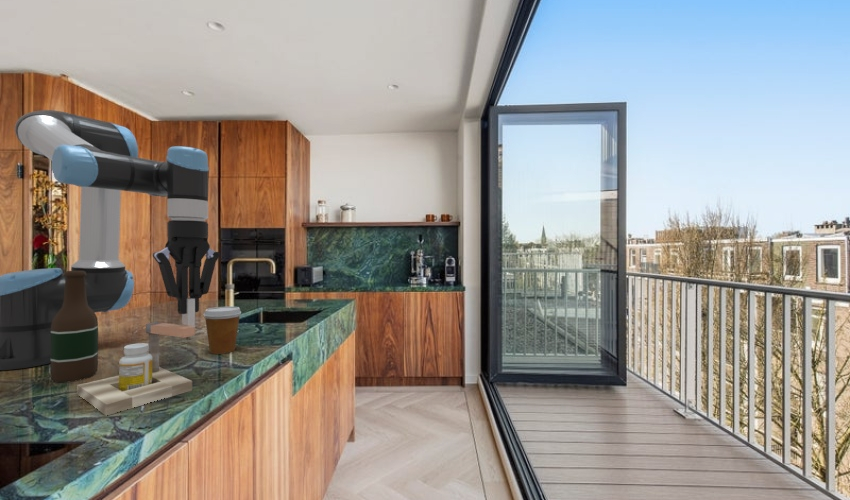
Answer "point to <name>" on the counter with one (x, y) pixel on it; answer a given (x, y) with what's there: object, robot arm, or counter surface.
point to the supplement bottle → (135, 367)
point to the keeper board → (114, 400)
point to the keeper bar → (170, 329)
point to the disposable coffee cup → (222, 328)
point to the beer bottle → (74, 333)
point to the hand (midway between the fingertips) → (188, 327)
